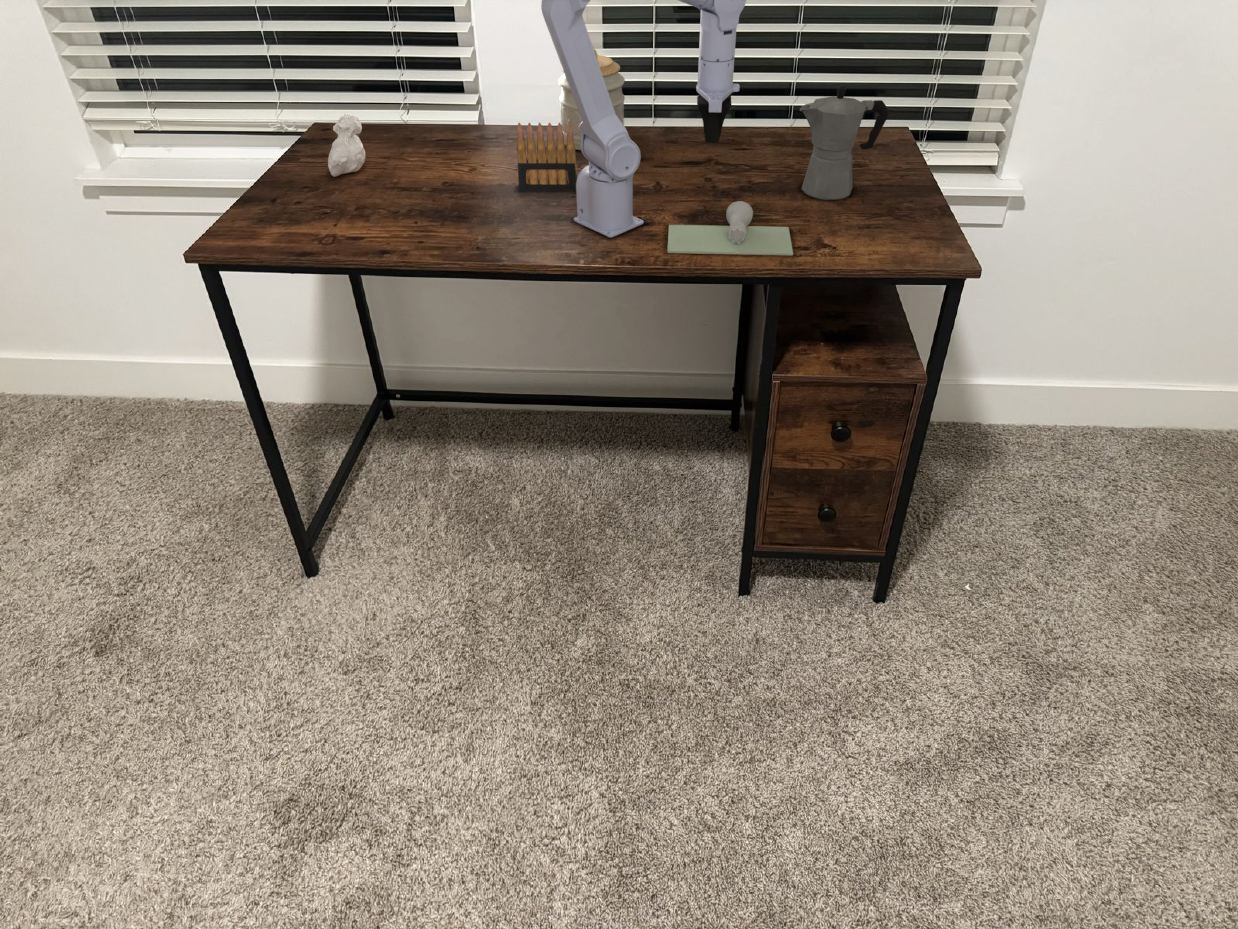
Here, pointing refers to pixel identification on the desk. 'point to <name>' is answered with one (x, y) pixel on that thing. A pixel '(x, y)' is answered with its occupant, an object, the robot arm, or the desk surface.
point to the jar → (570, 108)
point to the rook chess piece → (738, 221)
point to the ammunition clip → (546, 160)
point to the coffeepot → (837, 142)
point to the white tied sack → (346, 147)
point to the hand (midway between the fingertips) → (711, 141)
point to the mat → (717, 242)
